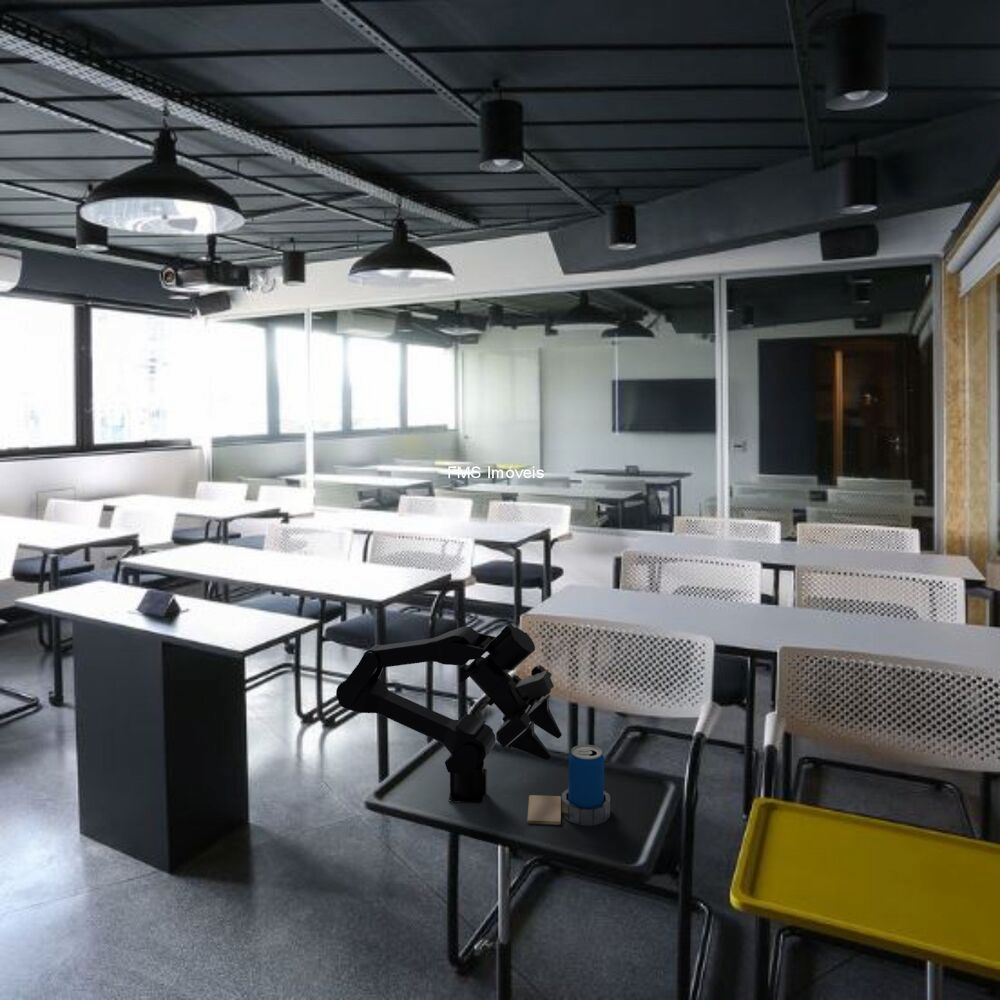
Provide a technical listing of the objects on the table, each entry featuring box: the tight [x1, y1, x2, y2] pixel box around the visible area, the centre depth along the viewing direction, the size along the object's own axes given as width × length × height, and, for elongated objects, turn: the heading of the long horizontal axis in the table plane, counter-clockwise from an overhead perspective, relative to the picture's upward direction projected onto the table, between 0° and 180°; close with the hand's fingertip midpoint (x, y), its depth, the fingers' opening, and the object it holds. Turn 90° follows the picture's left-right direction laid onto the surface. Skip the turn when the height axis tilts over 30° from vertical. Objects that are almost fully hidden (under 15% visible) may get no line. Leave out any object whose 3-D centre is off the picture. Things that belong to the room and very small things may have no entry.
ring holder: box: [561, 788, 611, 827], centre depth 152 cm, size 9×9×3 cm
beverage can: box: [567, 744, 605, 808], centre depth 151 cm, size 6×6×12 cm
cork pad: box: [526, 794, 562, 826], centre depth 153 cm, size 6×9×1 cm, turn 176°
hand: (554, 747), depth 152 cm, fingers open, 9 cm apart
